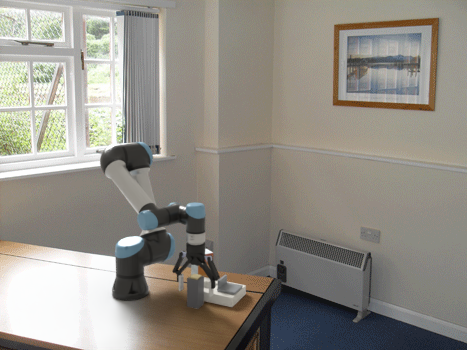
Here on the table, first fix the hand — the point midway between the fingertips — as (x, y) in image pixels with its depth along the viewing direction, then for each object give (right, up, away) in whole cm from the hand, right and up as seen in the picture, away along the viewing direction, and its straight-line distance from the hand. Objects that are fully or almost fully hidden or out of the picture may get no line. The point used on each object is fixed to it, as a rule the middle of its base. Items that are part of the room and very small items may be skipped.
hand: (195, 292), depth 213 cm
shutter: (+14, 0, +7) cm, 15 cm away
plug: (0, -5, +1) cm, 6 cm away
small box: (+1, 0, +28) cm, 28 cm away
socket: (+8, -4, +10) cm, 14 cm away
